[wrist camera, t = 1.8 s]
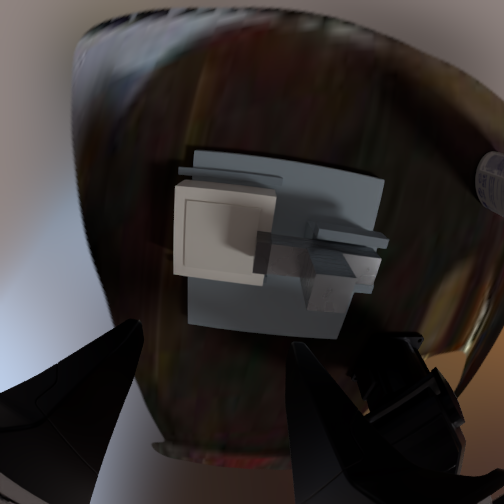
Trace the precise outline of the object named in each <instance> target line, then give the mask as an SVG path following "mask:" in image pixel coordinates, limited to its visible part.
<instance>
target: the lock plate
mask: <svg viewBox="0 0 504 504" xmlns="http://www.w3.org/2000/svg"><path fill="white" fill-rule="evenodd" d="M178 175H189V176H192V180H197V181H207V182H217V183H227V184H236V185H244V186H252V187H260V188H268V189H275V192H276V204H275V210H274V217H273V223H272V230H271V234H278V235H285V236H293V237H300V238H308V239H315V240H322V241H329V242H336V243H343V244H350V245H357V246H363V247H370V248H373V249H374V250H375V252H376V250H377V248H384V249H386V248H387V244H388V241H389V239H388V238H387V237H386V236H384V235H383V234H382V233H380V232H375V231H373V228H374V224H375V220H376V216H377V212H378V208H379V204H380V199H381V195H382V191H383V186H384V181H385V180H383V179H381V178H377V177H373V176H368V175H364V174H360V173H355V172H350V171H346V170H341V169H336V168H331V167H326V166H320V165H315V164H309V163H303V162H297V161H291V160H285V159H278V158H271V157H264V156H256V155H247V154H239V153H229V152H219V151H207V150H195V151H194V162H193V168H192V167H179V171H178ZM373 287H374V285H364V284H355V286H354V289H353V292H352V295H351V298H350V301H349V303H348V306H347V309H346V312H345V313H334V312H321V311H310V310H306V306H305V301H304V297H303V292H302V288H301V283H300V278H299V277H291V276H282V275H274V274H267V275H264V279H263V286H257V285H249V284H241V283H233V282H225V281H218V280H210V279H203V278H196V277H189V276H188V324H193V325H200V326H207V327H214V328H221V329H228V330H236V331H244V332H253V333H262V334H272V335H283V336H295V337H308V338H324V339H337V337H338V334H339V332H340V329H341V327H342V324H343V321H344V319H345V316H346V313H347V311H348V308H349V305H350V302H351V299H352V296H353V294H354V292H358V293H369V294H371V292H372V290H373Z"/></svg>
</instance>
